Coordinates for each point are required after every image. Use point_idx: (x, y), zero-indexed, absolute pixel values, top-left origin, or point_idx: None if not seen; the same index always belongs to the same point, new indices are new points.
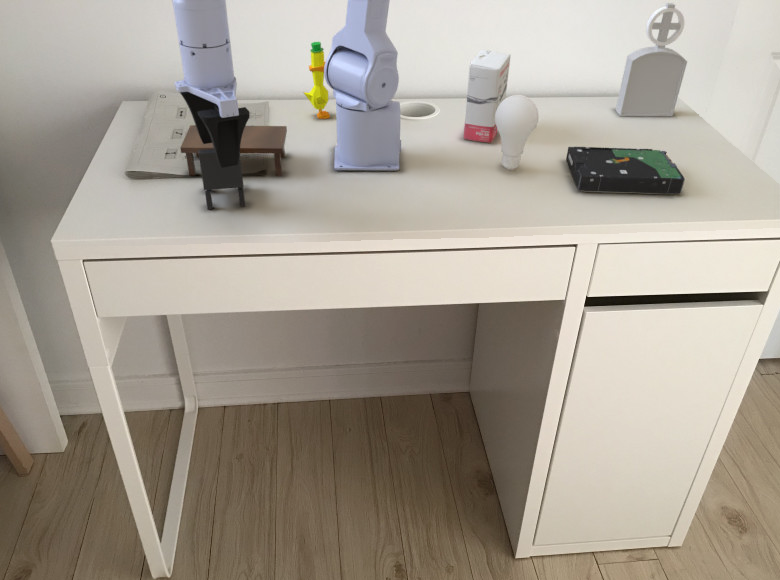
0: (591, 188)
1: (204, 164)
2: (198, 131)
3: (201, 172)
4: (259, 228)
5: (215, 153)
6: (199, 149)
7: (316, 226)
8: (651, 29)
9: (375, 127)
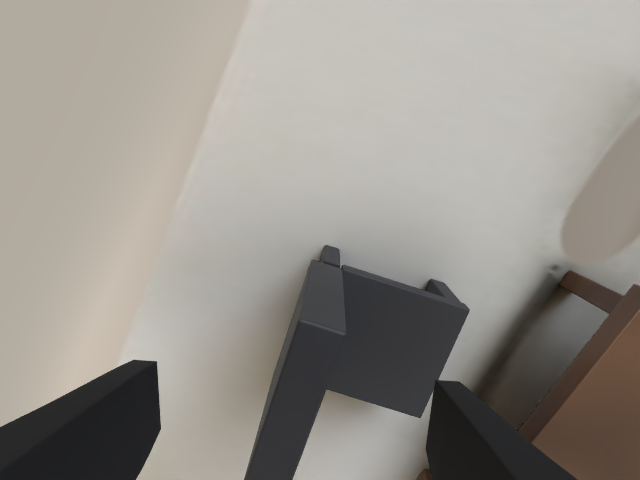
0: None
1: (298, 311)
2: (469, 414)
3: (308, 282)
4: (165, 325)
5: (110, 389)
6: (597, 351)
7: None
8: None
9: None
